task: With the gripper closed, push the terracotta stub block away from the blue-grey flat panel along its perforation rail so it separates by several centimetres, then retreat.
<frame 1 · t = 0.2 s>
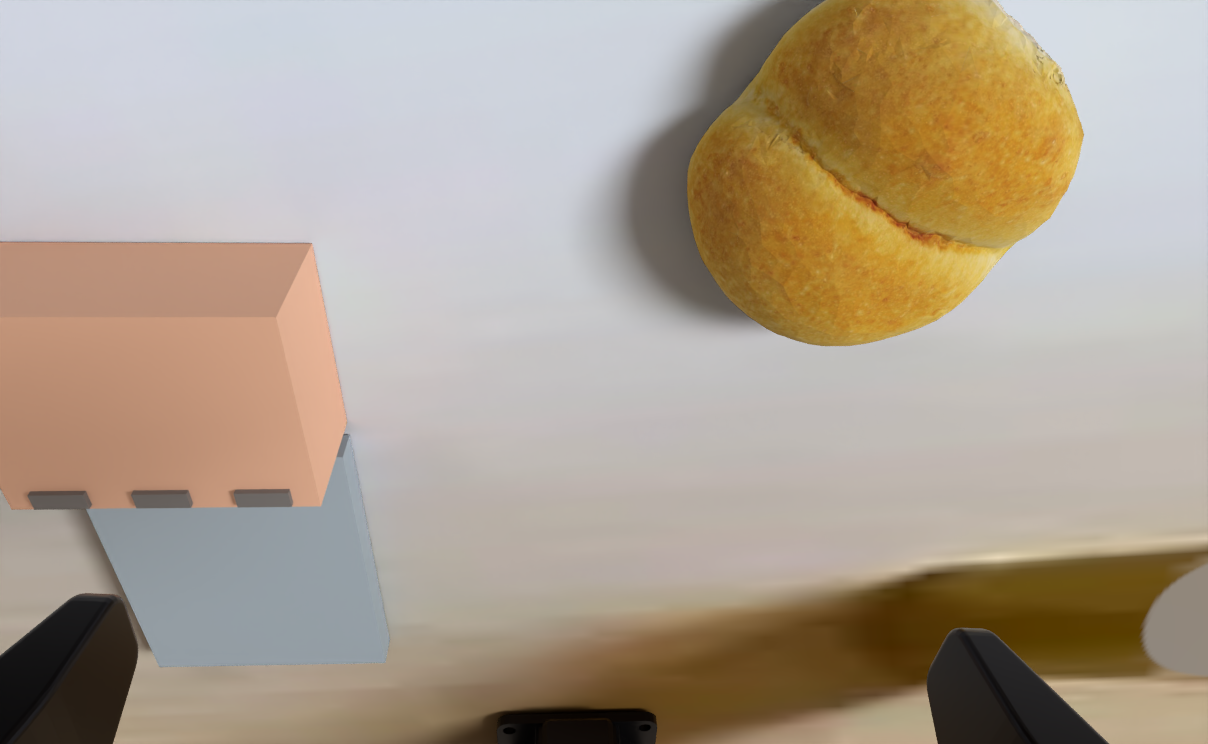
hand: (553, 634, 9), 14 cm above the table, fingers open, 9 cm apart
blue-grey flat panel: (250, 549, 29), on the table
bread roll: (861, 147, 22), on the table
stub: (159, 379, 22), point 2 cm above the table, slide at 0.0 cm
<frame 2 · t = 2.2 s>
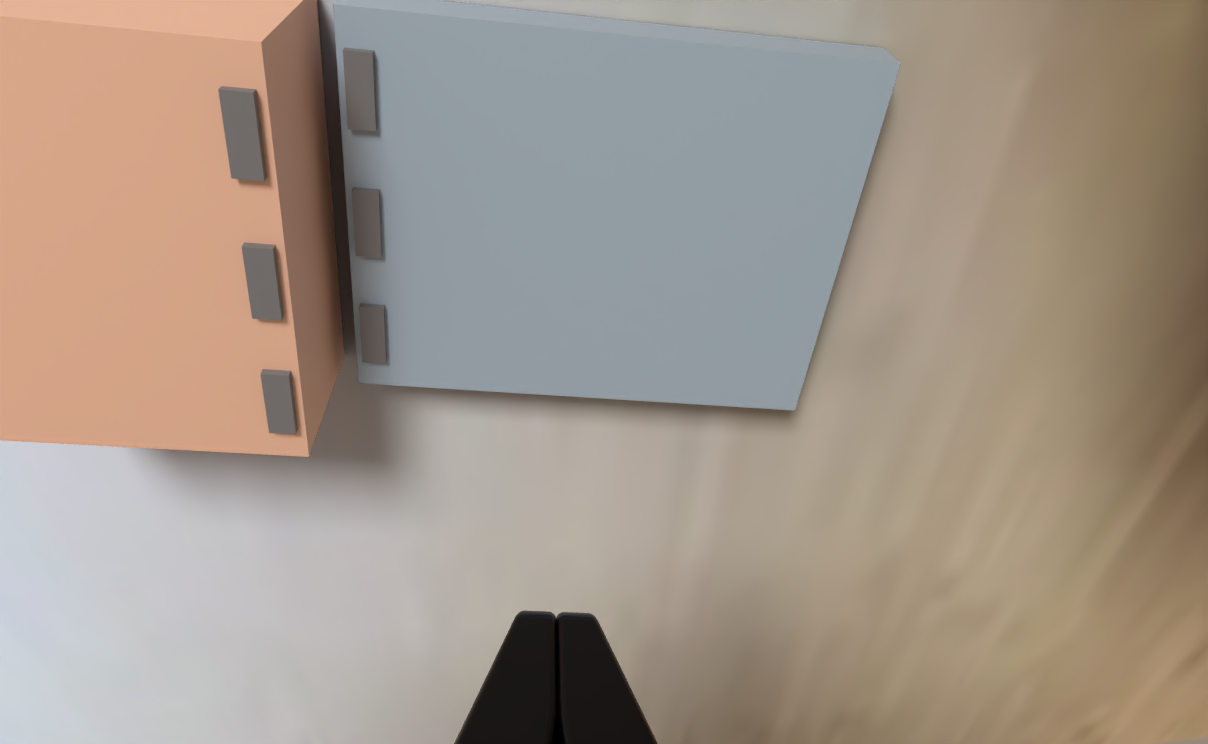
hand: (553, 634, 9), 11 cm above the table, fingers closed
blue-grey flat panel: (599, 218, 18), on the table
stub: (143, 223, 16), point 2 cm above the table, slide at 0.0 cm
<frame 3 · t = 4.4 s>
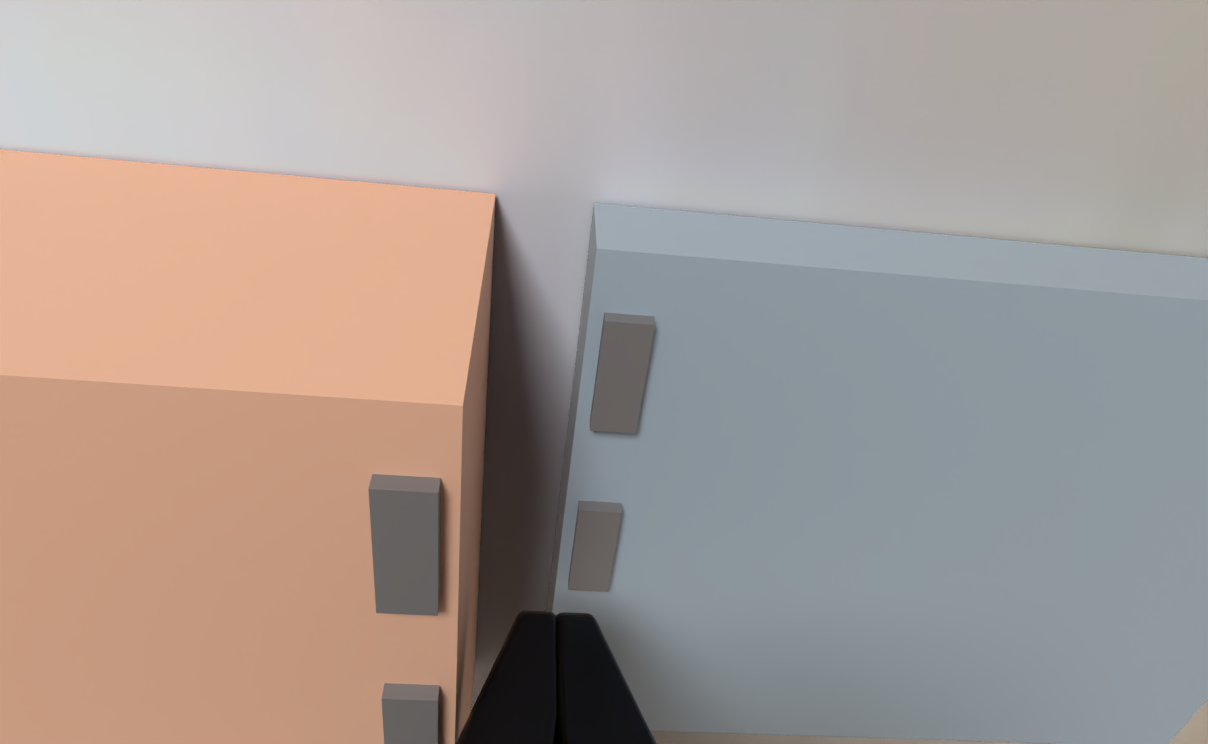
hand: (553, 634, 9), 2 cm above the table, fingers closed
blue-grey flat panel: (927, 505, 12), on the table
stub: (193, 578, 9), point 2 cm above the table, slide at 0.5 cm, touching gripper
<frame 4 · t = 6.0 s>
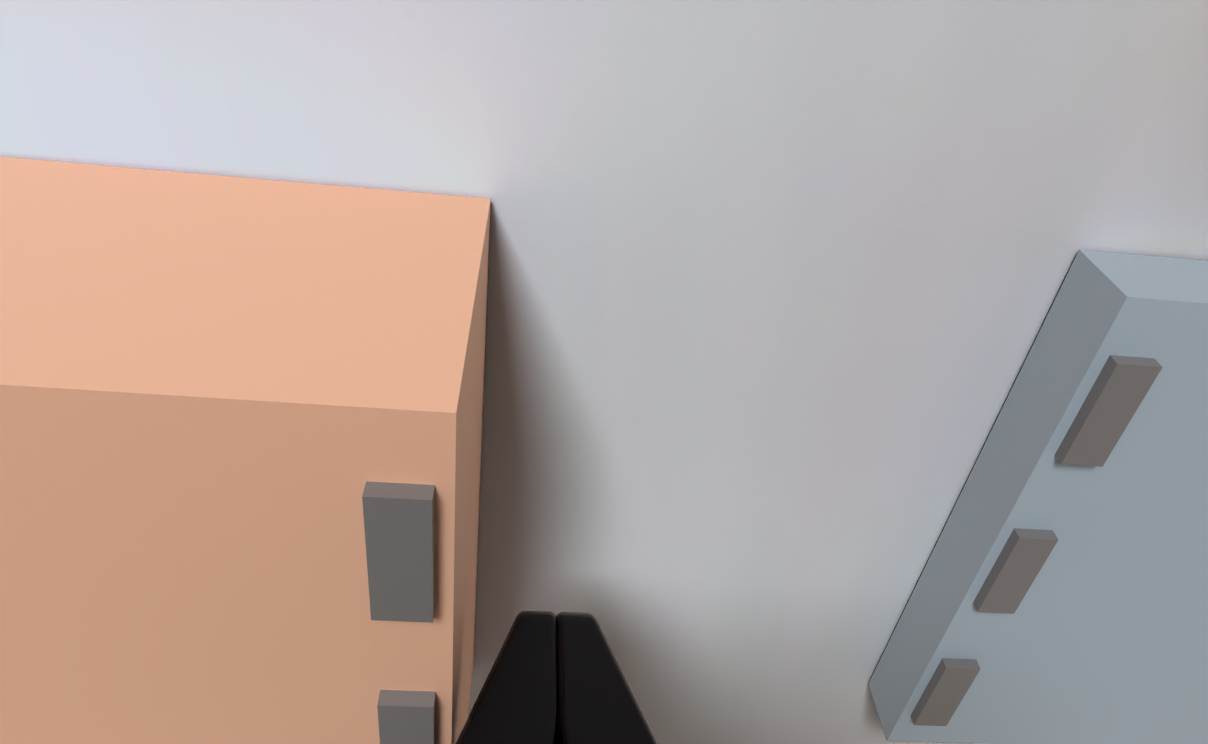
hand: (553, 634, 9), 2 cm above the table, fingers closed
stub: (189, 585, 9), point 2 cm above the table, slide at 5.9 cm, touching gripper
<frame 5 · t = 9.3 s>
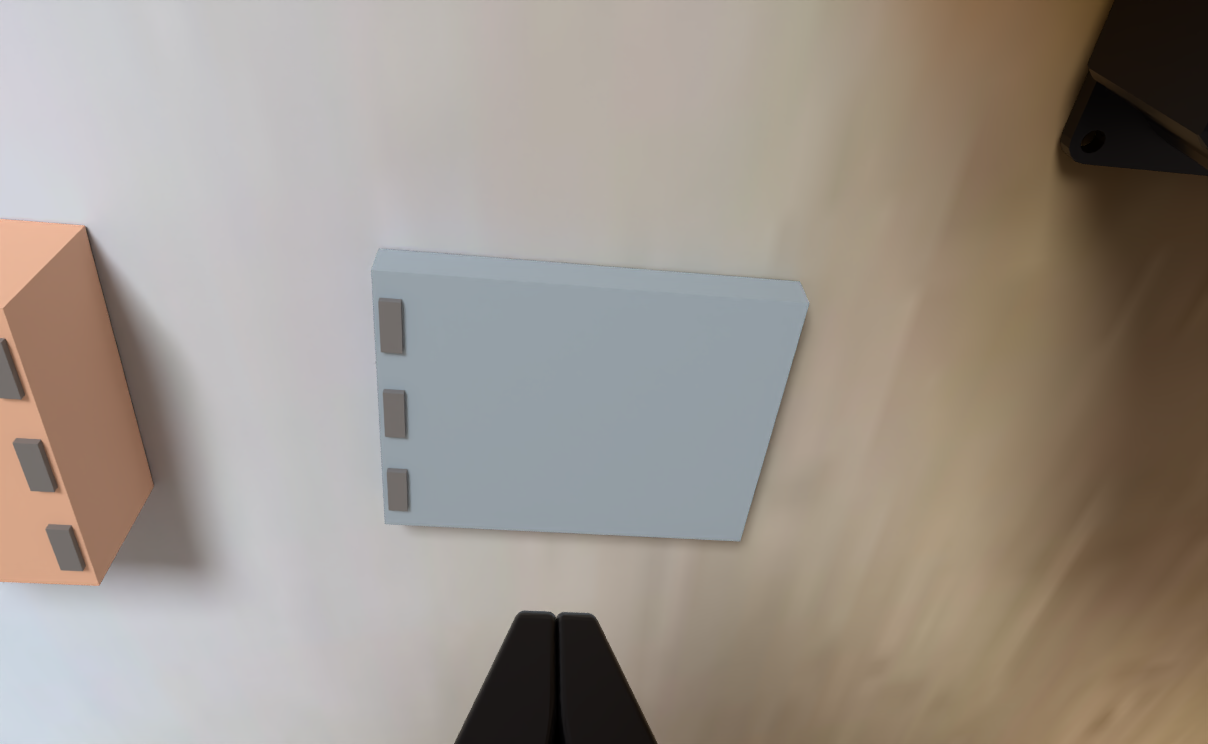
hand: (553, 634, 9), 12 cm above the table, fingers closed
blue-grey flat panel: (578, 398, 23), on the table
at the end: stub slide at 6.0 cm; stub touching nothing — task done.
